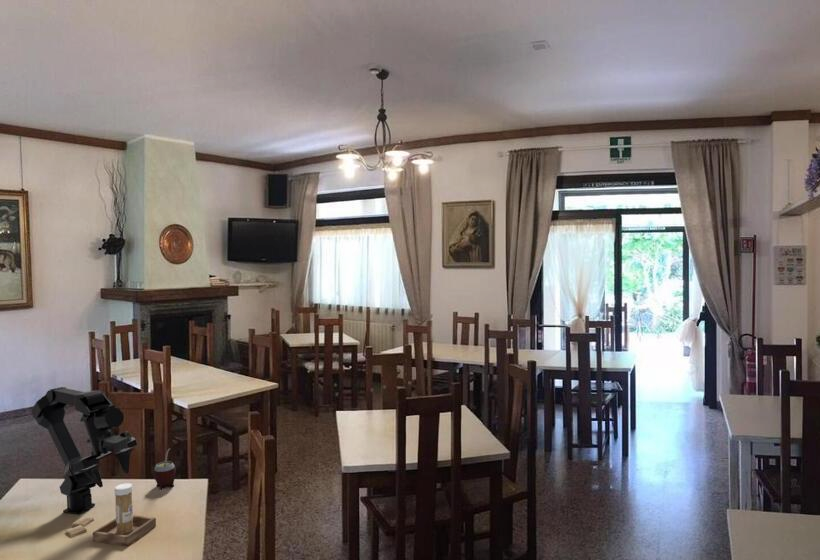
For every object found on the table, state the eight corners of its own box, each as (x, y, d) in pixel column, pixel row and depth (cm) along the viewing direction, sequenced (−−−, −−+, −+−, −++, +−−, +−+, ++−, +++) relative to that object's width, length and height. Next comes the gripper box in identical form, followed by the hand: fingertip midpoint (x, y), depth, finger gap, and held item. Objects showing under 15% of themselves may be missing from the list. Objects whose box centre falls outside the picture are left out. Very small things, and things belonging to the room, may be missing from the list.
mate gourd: (160, 481, 199) (159, 440, 199) (182, 482, 199) (180, 441, 198) (149, 490, 192) (147, 448, 191) (171, 491, 191) (170, 448, 191)
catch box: (93, 541, 159) (92, 532, 158) (123, 521, 170) (122, 513, 170) (127, 545, 156) (127, 537, 156) (156, 525, 167) (155, 517, 167)
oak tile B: (66, 534, 164) (65, 530, 164) (80, 528, 167) (80, 525, 167) (71, 538, 161) (71, 534, 161) (86, 532, 164) (86, 528, 164)
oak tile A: (72, 527, 168) (72, 523, 168) (82, 521, 172) (82, 517, 172) (84, 528, 167) (84, 524, 167) (93, 522, 171) (93, 518, 171)
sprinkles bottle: (131, 533, 161) (129, 488, 161) (114, 535, 160) (112, 490, 160) (135, 526, 166) (133, 482, 165) (118, 528, 165) (116, 483, 164)
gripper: (88, 438, 160) (105, 490, 160) (141, 416, 177) (156, 463, 177) (63, 445, 165) (80, 496, 164) (118, 423, 182) (133, 468, 182)
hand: (114, 480), depth 172 cm, fingers open, 9 cm apart
